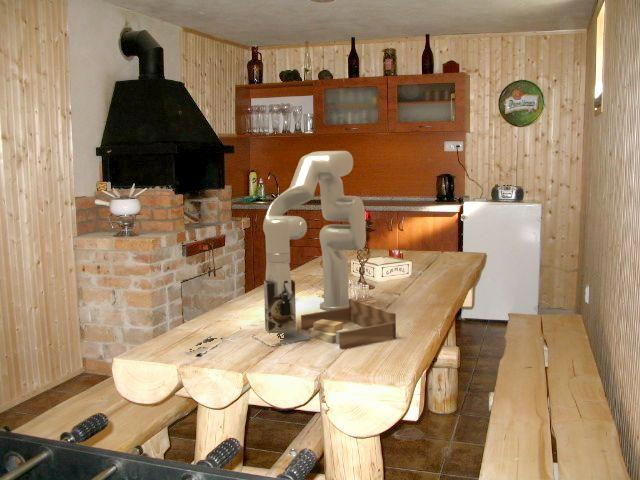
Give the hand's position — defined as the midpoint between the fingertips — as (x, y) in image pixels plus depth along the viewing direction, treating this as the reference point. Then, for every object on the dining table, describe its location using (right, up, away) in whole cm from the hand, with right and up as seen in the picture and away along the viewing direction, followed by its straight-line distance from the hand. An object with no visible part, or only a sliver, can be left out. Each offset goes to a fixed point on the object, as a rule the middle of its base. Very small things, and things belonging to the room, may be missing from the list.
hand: (280, 312), depth 208 cm
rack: (+22, -7, +4) cm, 23 cm away
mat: (0, -8, +1) cm, 8 cm away
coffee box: (0, -6, +1) cm, 6 cm away
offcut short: (+15, -6, 0) cm, 16 cm away
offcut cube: (+21, -9, -7) cm, 23 cm away
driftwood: (-23, -11, -5) cm, 26 cm away
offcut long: (+15, -9, 0) cm, 18 cm away
